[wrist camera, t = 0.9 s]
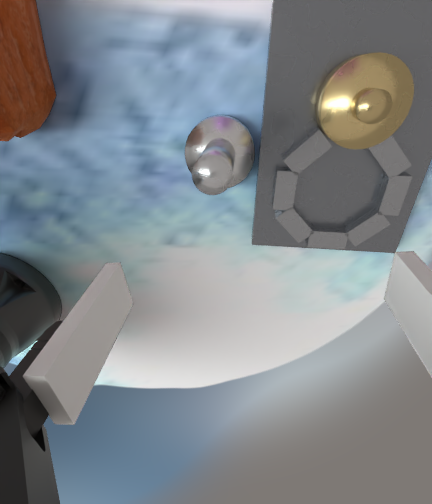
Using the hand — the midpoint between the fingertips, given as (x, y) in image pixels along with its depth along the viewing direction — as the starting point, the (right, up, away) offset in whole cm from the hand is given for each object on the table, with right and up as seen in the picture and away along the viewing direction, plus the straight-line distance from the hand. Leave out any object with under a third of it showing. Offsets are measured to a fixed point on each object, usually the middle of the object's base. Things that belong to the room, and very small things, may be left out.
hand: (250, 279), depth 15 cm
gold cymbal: (+11, +15, +11) cm, 21 cm away
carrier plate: (+11, +12, +15) cm, 22 cm away
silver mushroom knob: (-1, +12, +16) cm, 20 cm away
